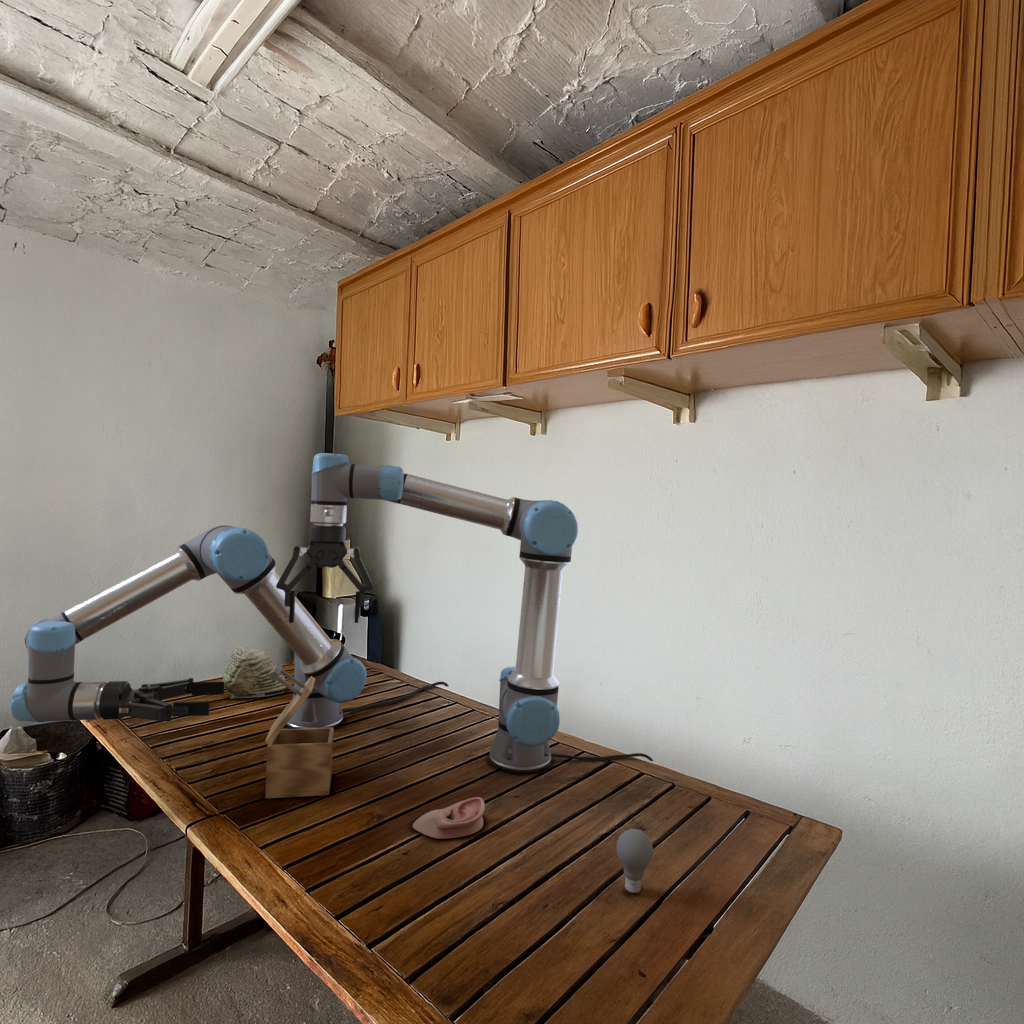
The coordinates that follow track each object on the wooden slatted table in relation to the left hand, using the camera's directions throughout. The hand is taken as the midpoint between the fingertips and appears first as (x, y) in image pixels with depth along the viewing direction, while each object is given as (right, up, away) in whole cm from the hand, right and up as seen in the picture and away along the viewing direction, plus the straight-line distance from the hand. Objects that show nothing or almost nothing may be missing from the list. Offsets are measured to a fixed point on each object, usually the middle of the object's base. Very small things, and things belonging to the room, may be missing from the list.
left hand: (217, 697), depth 134 cm
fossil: (-18, -18, +64) cm, 69 cm away
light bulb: (+82, -24, -28) cm, 90 cm away
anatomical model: (+50, -22, -9) cm, 56 cm away
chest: (+16, -21, +4) cm, 27 cm away
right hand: (+21, +15, +4) cm, 27 cm away
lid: (+15, -4, +4) cm, 16 cm away
